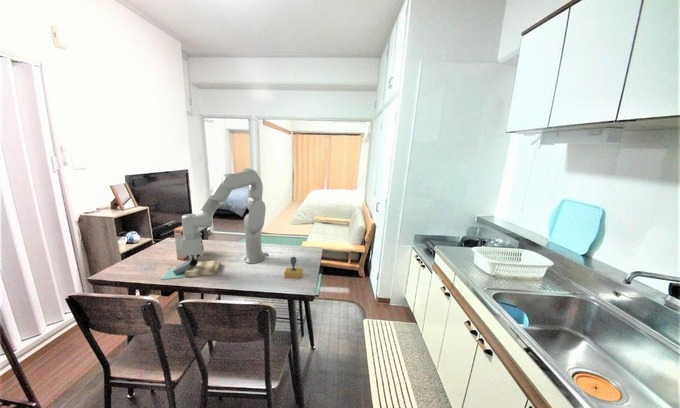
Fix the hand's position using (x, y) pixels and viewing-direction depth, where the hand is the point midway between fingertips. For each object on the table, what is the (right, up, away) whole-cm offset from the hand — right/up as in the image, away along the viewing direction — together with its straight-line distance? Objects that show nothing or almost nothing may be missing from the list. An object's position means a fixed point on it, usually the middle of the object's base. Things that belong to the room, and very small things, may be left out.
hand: (194, 265), depth 139 cm
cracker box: (-16, +1, +21) cm, 27 cm away
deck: (+4, -4, +2) cm, 6 cm away
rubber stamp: (+58, -6, 0) cm, 59 cm away
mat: (-9, -4, -2) cm, 10 cm away
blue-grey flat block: (-6, -1, -1) cm, 6 cm away
